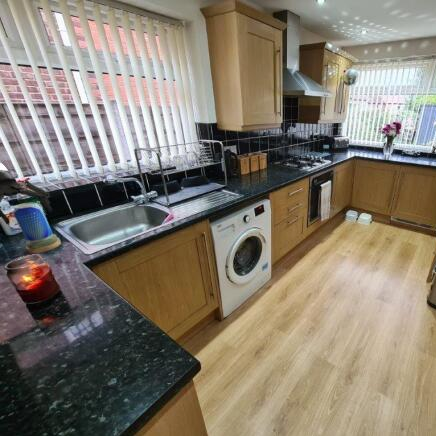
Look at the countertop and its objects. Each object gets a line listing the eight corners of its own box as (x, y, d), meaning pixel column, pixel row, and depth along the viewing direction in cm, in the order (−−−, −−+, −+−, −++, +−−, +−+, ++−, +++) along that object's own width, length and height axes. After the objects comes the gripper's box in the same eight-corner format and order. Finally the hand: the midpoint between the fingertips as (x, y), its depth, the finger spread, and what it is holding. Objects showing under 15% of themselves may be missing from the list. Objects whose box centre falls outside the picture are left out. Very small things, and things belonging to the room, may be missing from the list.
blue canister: (26, 245, 102) (8, 210, 96) (29, 238, 108) (12, 204, 101) (53, 239, 107) (38, 205, 101) (54, 232, 113) (39, 200, 106)
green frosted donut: (20, 254, 104) (16, 246, 102) (41, 241, 114) (37, 233, 112) (49, 252, 105) (45, 244, 103) (67, 239, 115) (63, 232, 113)
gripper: (37, 175, 114) (65, 210, 115) (-47, 189, 94) (-13, 232, 94) (37, 165, 110) (67, 202, 110) (-50, 178, 90) (-14, 222, 90)
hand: (30, 216), depth 102 cm, fingers open, 13 cm apart
